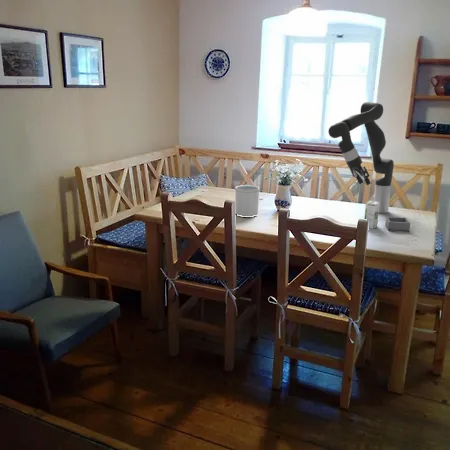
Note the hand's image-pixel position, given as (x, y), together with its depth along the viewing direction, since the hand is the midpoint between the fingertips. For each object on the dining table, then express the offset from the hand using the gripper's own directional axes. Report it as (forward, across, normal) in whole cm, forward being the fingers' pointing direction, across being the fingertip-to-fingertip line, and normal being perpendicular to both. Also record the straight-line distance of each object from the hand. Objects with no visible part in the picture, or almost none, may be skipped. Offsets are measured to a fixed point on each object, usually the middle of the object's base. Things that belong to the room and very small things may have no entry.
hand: (365, 183), depth 253 cm
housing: (+32, +1, -6) cm, 33 cm away
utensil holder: (-8, +46, +58) cm, 74 cm away
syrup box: (+26, +6, +6) cm, 27 cm away
